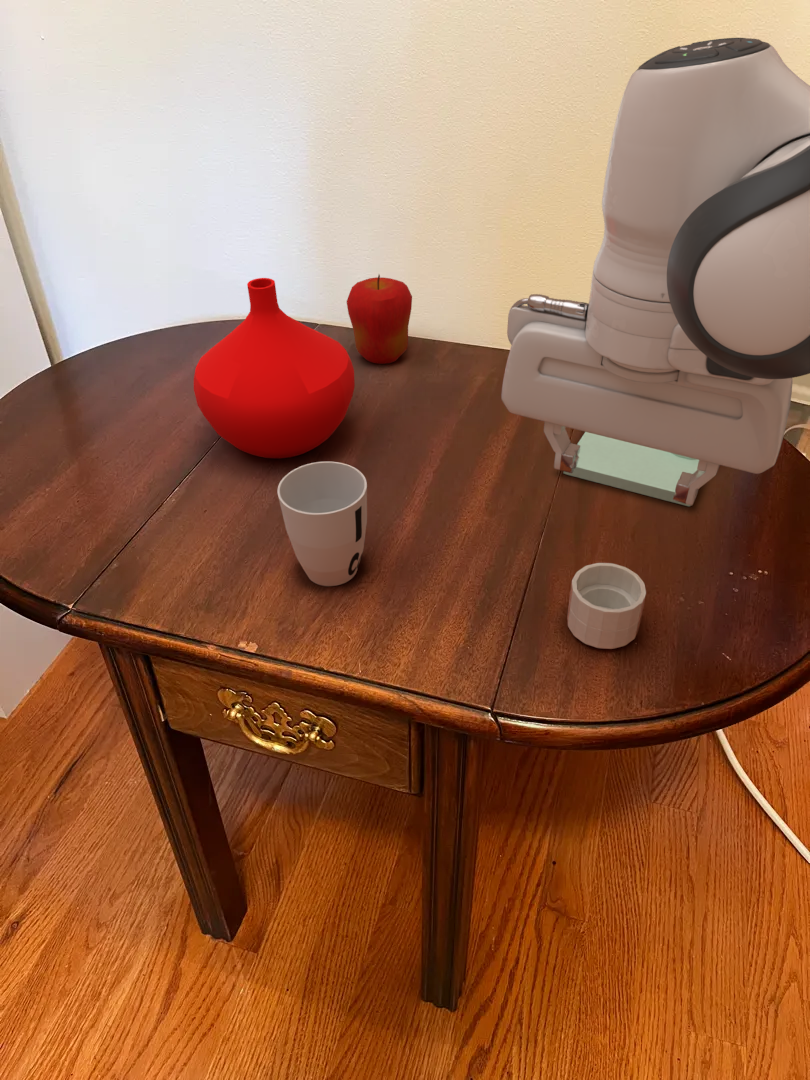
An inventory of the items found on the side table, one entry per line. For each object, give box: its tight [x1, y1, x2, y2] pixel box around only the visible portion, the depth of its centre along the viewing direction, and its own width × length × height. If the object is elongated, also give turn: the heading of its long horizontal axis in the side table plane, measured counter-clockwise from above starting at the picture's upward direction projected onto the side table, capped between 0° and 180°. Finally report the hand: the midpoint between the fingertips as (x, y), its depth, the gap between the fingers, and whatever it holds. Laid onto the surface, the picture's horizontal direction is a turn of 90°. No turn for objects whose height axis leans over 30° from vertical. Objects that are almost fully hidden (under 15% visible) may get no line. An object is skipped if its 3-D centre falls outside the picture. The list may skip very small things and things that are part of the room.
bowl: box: [566, 562, 647, 650], centre depth 74 cm, size 6×6×5 cm
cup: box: [276, 461, 368, 587], centre depth 79 cm, size 8×8×10 cm
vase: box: [193, 277, 356, 459], centre depth 95 cm, size 18×18×19 cm
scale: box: [563, 431, 699, 508], centre depth 94 cm, size 14×12×3 cm
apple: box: [346, 274, 413, 365], centre depth 112 cm, size 9×8×12 cm
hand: (623, 482), depth 65 cm, fingers open, 8 cm apart
